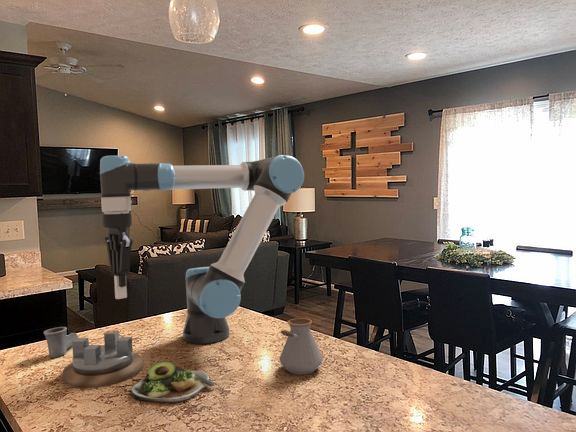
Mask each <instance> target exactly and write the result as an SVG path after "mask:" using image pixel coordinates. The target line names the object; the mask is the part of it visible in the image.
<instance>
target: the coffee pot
mask: <svg viewBox="0 0 576 432" xmlns="http://www.w3.org/2000/svg"><path fill="white" fill-rule="evenodd" d="M312 323H313V321H312V319H310V318H305V317H298V318H297V317H296V318H292V319H289V320H287V324H288V325H289V327H290V330H287V329H286V330H285V329H283V330H280V331H278V332H277V334H276V337H277V339H278V340H281V341H283V340H285V339H286V340H285V344H284V345H283V349H282V351H281V354H280V356H279V363H280V364H281V365H282V367H283V368H284V369H285V370H287V372H289V373H290V374H293V375H309V374H312V373H314V372H315V371H317V369H319V367H320V366H321V365H322V362H323V359H324V358H323V355H322V352H321V351H320V349H319V346H318V343H317V341H316V340H315V337H314V335H313V333H312V330H311V325H312ZM279 333H281V335H282V336H285V337H284V338H281V339H280V338H279V337H278V334H279Z"/></svg>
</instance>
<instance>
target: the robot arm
mask: <svg viewBox="0 0 576 432" xmlns="http://www.w3.org/2000/svg"><path fill="white" fill-rule="evenodd" d="M99 162H100V163H99V179H100V191H101V192H100V194H101V198H100V199H101V200H100V201H101V203H100V204H101V212H102V213H103V214H102V227H103V228H105V229H108V236H106V237H104V242H105V245H106V250H107V251H106V252H107V257H108V265H109V271H110V272H112V275H113V277H114V278H113V280H114V281H113V282H114V298H115V299H116V300H121V299H127V298H128V289H127V274H129V273H130V271H131V260H132V246H133V238H129V232H128V230H127V229H128V228H129V227H132V226H133V220H132V219H133V215H132V213H131V211H132V204H133V201H132V200H131V196H132V195H131V191H134V192H135V191H142V192H149V191H166V190H167V191H168V190H170V191H171V190H172V191H173V190H174V191H175V190H204V189H205V190H206V189H235V188H236V189H239V188H240V189H241V190H242V191H244V192H245V191H251V192H252V191H253V192H254V195H253V197H252V198H251V201H250V202H249V204H248V206H247V207H246V209H245V211H244V213H243V215H242V217H241V219H240V221H239V223H238V224H237V226H236V228H235V230H234V232H233V234H232V235H231V237H230V240H229V241H228V243H227V245H226V246H225V249H223V252H222V254H221V255H220V258H219V259H218V261H217V262H214V263H211V264H210V266H202V267H193V268H188V269H187V270H186V272H185V279H184V280H185V289H186V291H185V292H186V306H187V307H186V311H187V314H186V315H187V316H186V319H185V323H184V326H183V330H182V340H183V341H184V342H186V343H190V344H198V345H199V344H202V345H203V344H212V343H217V342H221V341H224V340H225V339H227V338H228V337H229V336H230V326H229V324H228V321H227V318H228V317H229V316H231V315H232V314H234V313H235V312H236V311H237V310H238V308H239V306H240V304H241V301H242V300H241V299H242V297H241V296H242V295H241V291H242V290H243V289H242V288H243V287H244V284H245V283H246V281H245V275H244V274H245V271H246V270H247V268H248V267H249V264H250V263H251V261H252V259H253V257H254V256H255V253H256V252H257V249H258V248H259V246H260V244H261V242H262V240H263V238H264V237H265V235H266V232H267V231H268V228H269V227H270V225H271V223H272V222H273V220H274V217H275V216H276V213H277V211H278V210H279V208H280V207H282V206H285V205H287V203H288V201H289V199H290V198H291V196H292V194H293V193H296V192H297V191H298V190H300V188H301V187H302V185H303V183H304V181H305V171H304V169H303V168H304V167H303V166H302V164H301V162H300V161H299V160H298V159H297V158H295V157H293V156H291V155H286V154H285V155H284V154H279V155H277V156H273V157H267V158H263V159H258V160H254V161H242V162H241V163H240V164H218V165H217V164H215V165H214V164H211V165H206V164H203V165H201V164H200V165H199V164H198V165H172V163H164V162H157V163H156V162H155V163H153V162H151V163H135V162H131V161H130V158H129V157H128V156H127V155H105V156H102V157H101V158H100V160H99Z"/></svg>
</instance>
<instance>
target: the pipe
mask: <svg viewBox="0 0 576 432" xmlns="http://www.w3.org/2000/svg"><path fill="white" fill-rule="evenodd" d="M67 331H68V327H66V326H59V327H53V328H49V329H45V330H44V331H43V334H44V338H45V340H46V343H47V348H48V354H49V356H50V358H59V357H62V356H64V355H65V354H67V350H69V349H70V348H71V347H72V341H74V340H75V339H77V338H79V336H78V334H77V333H76V332H70V333H69V334H68V333H67ZM67 334H68V335H67ZM72 348H73V347H72Z"/></svg>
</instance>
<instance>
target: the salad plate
mask: <svg viewBox="0 0 576 432" xmlns="http://www.w3.org/2000/svg"><path fill="white" fill-rule="evenodd" d="M146 372H147V373H146V377H144V378H143V379H142V380H140V381H138V383H136V384H134V385H133V386H132V387H131V388H130V393H131V395H132V396H133V397H134V398H135V399H137V400H141V401H144V402H153V403H155V402H156V403H177V402H182V401H186V400H189V399H192V398H194V397H195V396H196V395H198V394H199V393H200V392H201V391H202V390H204V389H205V388H206V387H212V386H215V385H216V383H215V382H214V381H212V380H210V378H209V375H208V374H207V373H206V372H204V371H201V370H190V369H189V370H188V369H185V368H183V367H181V366H178V365H176V364H175V363H173V362H171V361H168V360H167V361H166V360H165V361H160V362H157V363H155V364H153V365H152V366H150V367H149V368H148V369H147V371H146ZM173 393H174V394H175V393H179V394H180V393H181V394H182V393H183V395H180V396H174V397H173V396H172V397H170V398H169V397H168V398H166V397H164V396H167V395H169V394H173ZM163 397H164V398H163Z"/></svg>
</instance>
